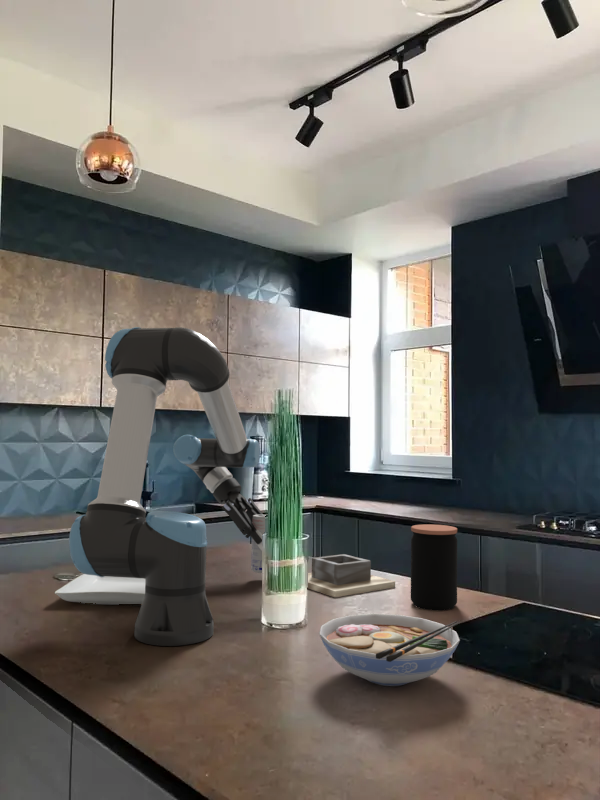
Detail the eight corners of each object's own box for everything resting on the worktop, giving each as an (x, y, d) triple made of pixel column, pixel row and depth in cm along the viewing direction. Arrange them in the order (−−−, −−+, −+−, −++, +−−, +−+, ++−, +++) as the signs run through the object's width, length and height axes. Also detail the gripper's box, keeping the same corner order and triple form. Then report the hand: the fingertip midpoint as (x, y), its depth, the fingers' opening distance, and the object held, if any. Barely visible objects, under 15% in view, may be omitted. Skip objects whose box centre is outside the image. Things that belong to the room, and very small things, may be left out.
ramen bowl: (371, 645, 125) (371, 601, 126) (486, 674, 111) (486, 624, 111) (284, 682, 106) (285, 630, 107) (410, 723, 92) (411, 663, 92)
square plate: (173, 611, 148) (174, 593, 148) (51, 608, 149) (52, 591, 149) (195, 583, 175) (195, 568, 175) (91, 581, 176) (92, 566, 176)
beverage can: (269, 574, 175) (270, 516, 176) (248, 572, 176) (250, 515, 177) (274, 570, 181) (275, 514, 181) (254, 568, 182) (255, 513, 183)
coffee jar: (454, 600, 160) (454, 525, 161) (460, 612, 149) (460, 531, 150) (409, 598, 161) (409, 523, 162) (412, 610, 150) (412, 530, 151)
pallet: (395, 587, 173) (395, 561, 173) (335, 597, 161) (335, 570, 161) (345, 573, 189) (346, 550, 189) (287, 581, 177) (288, 556, 178)
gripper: (231, 492, 194) (280, 554, 187) (196, 497, 178) (249, 565, 170) (247, 475, 192) (298, 536, 185) (214, 477, 176) (268, 545, 168)
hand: (274, 550), depth 177 cm, fingers closed on beverage can, 5 cm apart
